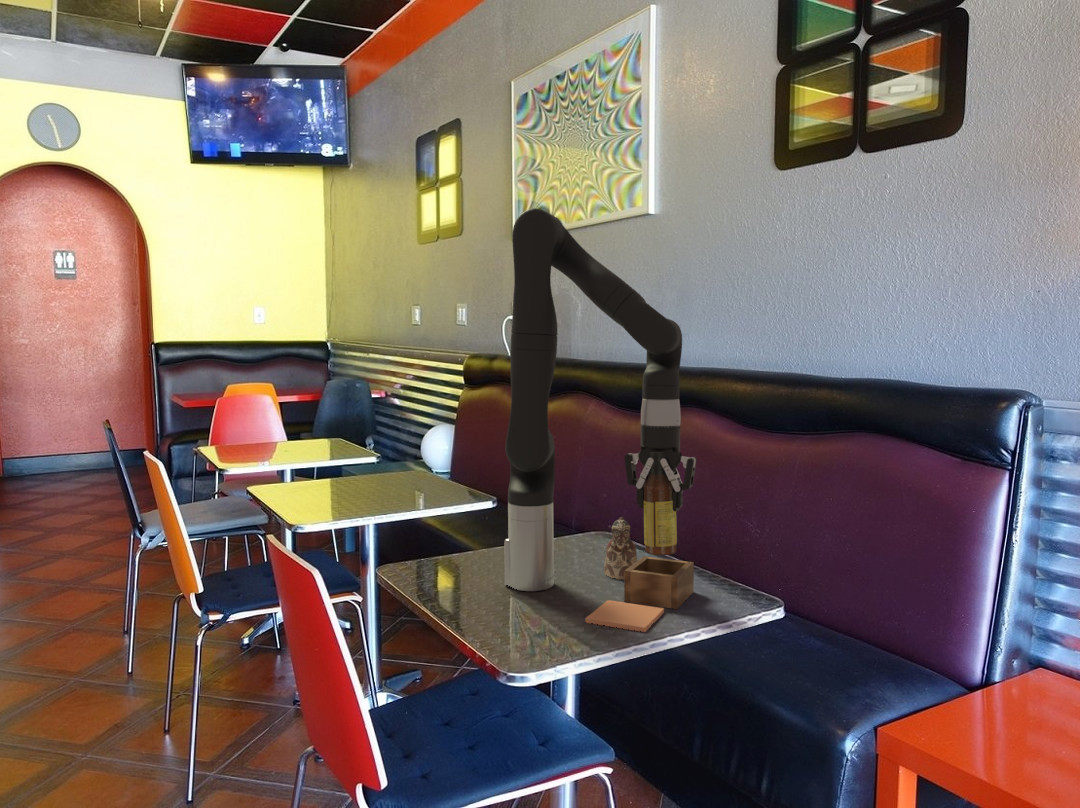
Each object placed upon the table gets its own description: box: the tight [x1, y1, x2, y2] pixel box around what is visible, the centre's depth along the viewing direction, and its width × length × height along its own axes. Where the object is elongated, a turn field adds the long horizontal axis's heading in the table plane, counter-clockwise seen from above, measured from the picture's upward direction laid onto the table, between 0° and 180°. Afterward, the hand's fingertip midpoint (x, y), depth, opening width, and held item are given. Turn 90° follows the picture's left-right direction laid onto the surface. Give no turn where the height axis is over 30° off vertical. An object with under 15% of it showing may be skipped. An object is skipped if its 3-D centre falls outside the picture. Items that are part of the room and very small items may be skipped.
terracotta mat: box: [584, 599, 665, 633], centre depth 141 cm, size 11×11×1 cm
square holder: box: [623, 555, 695, 610], centre depth 152 cm, size 10×11×6 cm
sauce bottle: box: [643, 451, 678, 556], centre depth 151 cm, size 7×6×20 cm
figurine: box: [603, 516, 638, 580], centre depth 167 cm, size 7×7×12 cm
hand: (659, 508), depth 151 cm, fingers closed on sauce bottle, 6 cm apart
